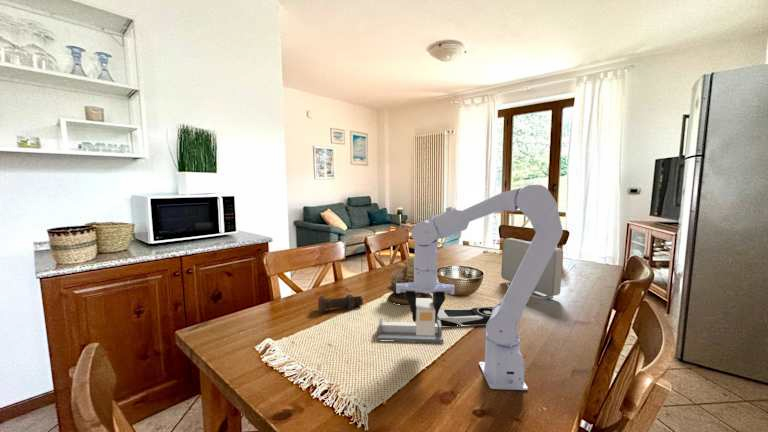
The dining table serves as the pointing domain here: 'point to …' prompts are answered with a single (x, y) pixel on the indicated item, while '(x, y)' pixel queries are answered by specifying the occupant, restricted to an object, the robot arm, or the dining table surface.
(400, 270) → the tan lumpy piece
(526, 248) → the network device
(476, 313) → the graphics card
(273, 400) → the dining table surface
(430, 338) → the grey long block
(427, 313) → the block
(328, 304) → the bolt
